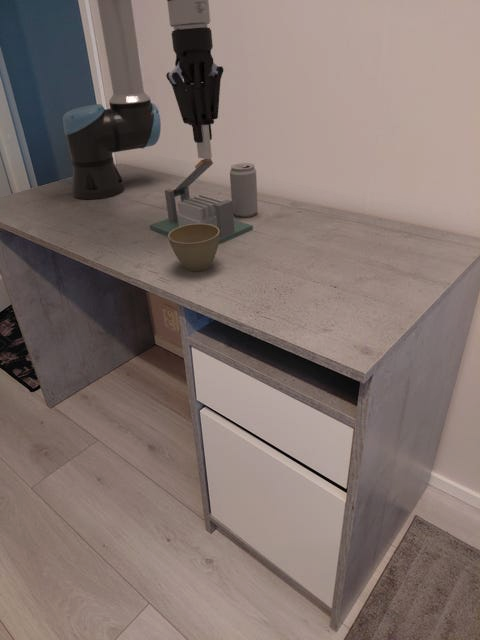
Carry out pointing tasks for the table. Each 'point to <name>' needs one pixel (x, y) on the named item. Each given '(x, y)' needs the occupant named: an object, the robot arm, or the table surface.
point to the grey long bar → (193, 176)
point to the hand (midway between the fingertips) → (205, 157)
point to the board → (201, 215)
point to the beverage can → (244, 189)
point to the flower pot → (195, 245)
